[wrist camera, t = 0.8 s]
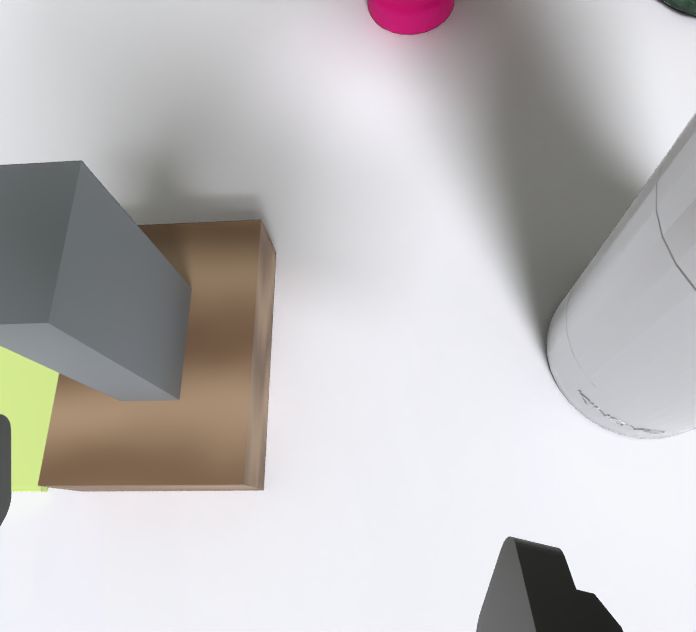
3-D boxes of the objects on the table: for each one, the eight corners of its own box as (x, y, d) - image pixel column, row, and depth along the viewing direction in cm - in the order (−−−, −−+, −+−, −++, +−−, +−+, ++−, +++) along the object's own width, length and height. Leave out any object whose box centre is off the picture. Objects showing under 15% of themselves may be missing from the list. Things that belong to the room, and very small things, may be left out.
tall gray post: (137, 290, 30) (-1, 165, 20) (191, 288, 30) (81, 160, 19) (120, 401, 28) (-44, 325, 17) (179, 400, 27) (48, 322, 17)
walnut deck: (120, 259, 35) (87, 227, 32) (276, 253, 34) (261, 219, 31) (82, 491, 30) (37, 486, 26) (263, 490, 29) (244, 484, 26)
